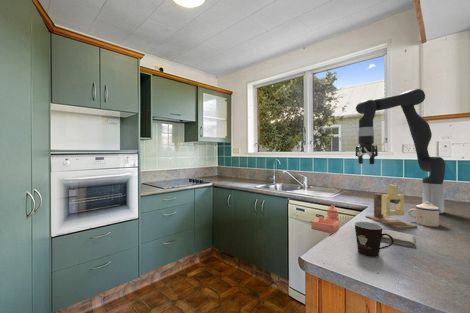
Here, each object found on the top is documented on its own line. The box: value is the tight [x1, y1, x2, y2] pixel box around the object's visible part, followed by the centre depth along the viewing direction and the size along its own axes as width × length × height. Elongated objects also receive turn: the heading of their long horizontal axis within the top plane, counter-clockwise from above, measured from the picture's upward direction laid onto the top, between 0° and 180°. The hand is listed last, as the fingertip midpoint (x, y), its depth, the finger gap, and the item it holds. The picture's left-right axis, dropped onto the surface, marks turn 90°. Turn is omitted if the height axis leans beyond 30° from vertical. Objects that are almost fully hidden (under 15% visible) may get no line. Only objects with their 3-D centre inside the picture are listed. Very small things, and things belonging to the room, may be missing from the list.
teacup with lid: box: [408, 202, 440, 227], centre depth 111 cm, size 12×9×12 cm
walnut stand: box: [365, 192, 418, 230], centre depth 113 cm, size 20×11×14 cm, turn 9°
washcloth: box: [381, 228, 417, 248], centre depth 93 cm, size 12×18×3 cm, turn 53°
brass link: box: [382, 184, 405, 217], centre depth 111 cm, size 10×3×15 cm, turn 99°
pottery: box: [310, 204, 341, 235], centre depth 107 cm, size 18×10×10 cm, turn 137°
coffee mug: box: [354, 221, 395, 258], centre depth 77 cm, size 12×9×10 cm
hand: (366, 164), depth 125 cm, fingers open, 8 cm apart
